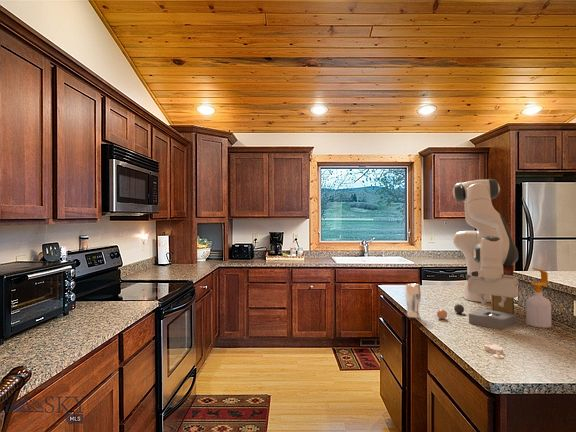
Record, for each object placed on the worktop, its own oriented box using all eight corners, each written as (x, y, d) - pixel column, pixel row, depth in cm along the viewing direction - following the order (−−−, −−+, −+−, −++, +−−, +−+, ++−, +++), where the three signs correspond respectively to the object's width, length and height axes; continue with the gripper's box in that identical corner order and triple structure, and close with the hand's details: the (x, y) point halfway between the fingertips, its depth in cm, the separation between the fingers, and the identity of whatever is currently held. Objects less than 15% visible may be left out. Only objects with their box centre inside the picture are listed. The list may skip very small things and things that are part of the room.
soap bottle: (521, 322, 169) (521, 266, 170) (542, 322, 169) (542, 266, 169) (534, 328, 160) (533, 269, 161) (556, 328, 160) (555, 269, 160)
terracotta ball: (440, 317, 179) (439, 307, 179) (449, 319, 175) (448, 309, 175) (435, 318, 176) (434, 309, 176) (444, 320, 173) (443, 311, 173)
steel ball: (489, 321, 171) (489, 312, 170) (499, 324, 167) (500, 314, 167) (484, 323, 168) (485, 313, 168) (495, 326, 164) (495, 316, 164)
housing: (483, 317, 178) (483, 308, 178) (516, 323, 167) (516, 314, 167) (468, 322, 169) (468, 313, 169) (502, 329, 158) (502, 320, 158)
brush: (474, 351, 134) (474, 345, 134) (491, 348, 138) (491, 342, 138) (499, 360, 126) (499, 354, 126) (516, 356, 129) (516, 350, 129)
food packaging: (490, 310, 190) (490, 260, 190) (512, 312, 186) (512, 261, 185) (491, 317, 178) (491, 263, 178) (515, 319, 174) (514, 264, 174)
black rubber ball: (457, 311, 189) (456, 302, 189) (465, 313, 186) (465, 304, 186) (452, 313, 186) (452, 304, 186) (461, 315, 183) (461, 305, 183)
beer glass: (405, 317, 178) (405, 285, 179) (406, 314, 185) (405, 283, 185) (421, 319, 176) (420, 286, 176) (421, 315, 183) (421, 284, 183)
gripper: (520, 275, 162) (521, 308, 161) (472, 270, 178) (472, 300, 177) (514, 276, 158) (515, 310, 157) (465, 272, 174) (466, 302, 173)
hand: (492, 305), depth 167 cm, fingers open, 6 cm apart
